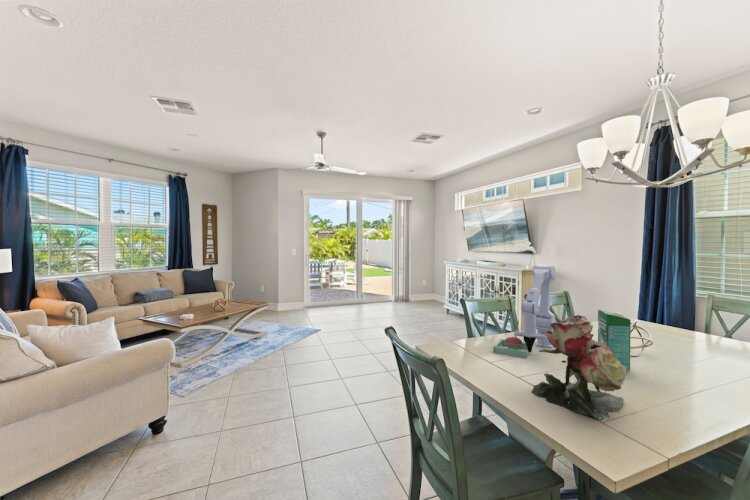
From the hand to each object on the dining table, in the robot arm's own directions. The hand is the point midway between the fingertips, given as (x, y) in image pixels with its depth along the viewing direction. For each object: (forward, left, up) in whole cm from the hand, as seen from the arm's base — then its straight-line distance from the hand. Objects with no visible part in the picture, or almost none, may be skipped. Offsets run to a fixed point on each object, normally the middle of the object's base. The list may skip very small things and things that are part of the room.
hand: (529, 351), depth 167 cm
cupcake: (0, -8, -1) cm, 8 cm away
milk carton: (-1, +34, -1) cm, 35 cm away
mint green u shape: (0, -8, -1) cm, 8 cm away
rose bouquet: (+41, +24, -1) cm, 47 cm away
